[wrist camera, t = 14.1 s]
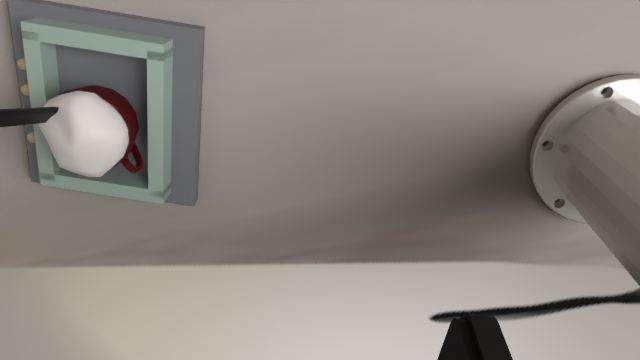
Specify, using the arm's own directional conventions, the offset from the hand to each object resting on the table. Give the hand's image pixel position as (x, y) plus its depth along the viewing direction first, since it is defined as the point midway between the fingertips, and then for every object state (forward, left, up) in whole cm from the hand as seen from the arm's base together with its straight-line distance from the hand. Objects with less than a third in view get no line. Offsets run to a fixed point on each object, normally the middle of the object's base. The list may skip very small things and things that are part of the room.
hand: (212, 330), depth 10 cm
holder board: (+15, +8, -30) cm, 35 cm away
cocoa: (+15, +8, -29) cm, 34 cm away
